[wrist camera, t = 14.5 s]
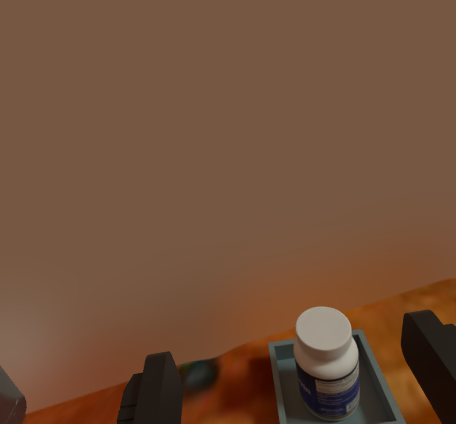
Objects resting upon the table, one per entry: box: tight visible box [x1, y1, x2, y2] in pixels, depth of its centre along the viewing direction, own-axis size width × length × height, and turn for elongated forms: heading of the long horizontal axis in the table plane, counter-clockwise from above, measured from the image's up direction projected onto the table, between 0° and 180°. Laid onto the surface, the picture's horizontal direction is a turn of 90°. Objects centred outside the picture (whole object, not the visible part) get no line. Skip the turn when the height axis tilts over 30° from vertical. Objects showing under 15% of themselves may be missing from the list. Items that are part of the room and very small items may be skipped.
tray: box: [268, 329, 406, 424], centre depth 33 cm, size 10×10×3 cm
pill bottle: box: [293, 307, 360, 421], centre depth 31 cm, size 6×6×10 cm
